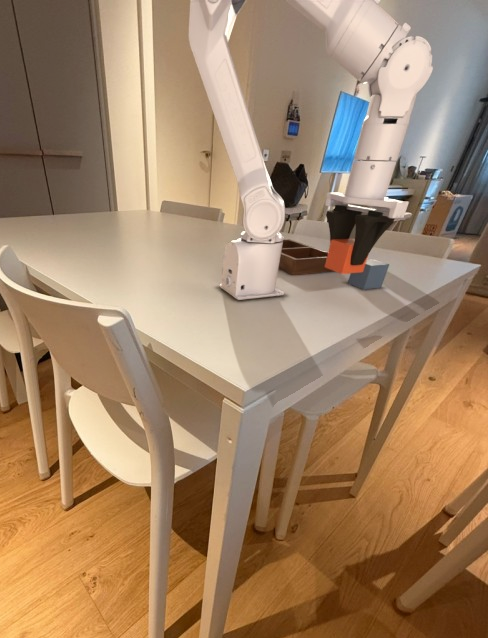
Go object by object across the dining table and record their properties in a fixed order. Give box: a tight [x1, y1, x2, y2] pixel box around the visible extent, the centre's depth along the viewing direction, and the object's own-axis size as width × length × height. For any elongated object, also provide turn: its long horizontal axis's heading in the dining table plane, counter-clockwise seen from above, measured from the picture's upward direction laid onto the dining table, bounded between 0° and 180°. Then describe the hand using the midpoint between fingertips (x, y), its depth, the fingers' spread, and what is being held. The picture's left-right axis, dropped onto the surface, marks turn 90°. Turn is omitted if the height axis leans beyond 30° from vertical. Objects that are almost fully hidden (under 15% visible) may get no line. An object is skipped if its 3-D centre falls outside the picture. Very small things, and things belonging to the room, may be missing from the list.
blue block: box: [347, 258, 390, 291], centre depth 65 cm, size 4×4×4 cm
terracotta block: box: [325, 238, 370, 275], centre depth 56 cm, size 4×4×4 cm
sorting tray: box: [278, 238, 334, 276], centre depth 80 cm, size 20×12×3 cm, turn 20°
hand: (345, 260), depth 56 cm, fingers closed on terracotta block, 4 cm apart
